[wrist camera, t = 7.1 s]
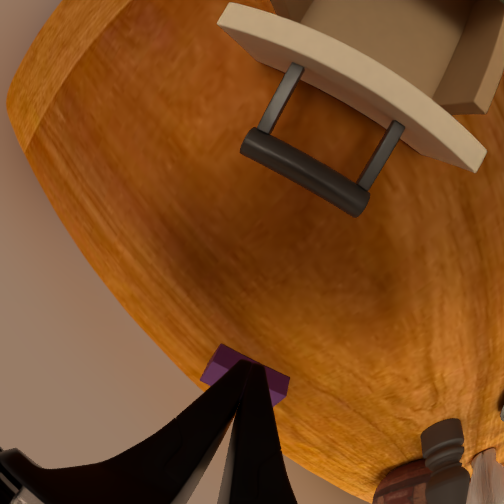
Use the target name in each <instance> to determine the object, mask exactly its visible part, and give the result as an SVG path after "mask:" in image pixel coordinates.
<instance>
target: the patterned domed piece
mask: <svg viewBox="0 0 504 504" xmlns="http://www.w3.org/2000/svg"><path fill="white" fill-rule="evenodd" d="M500 417H501V420H502V421H504V406H503V408H502V411H501V415H500Z"/></svg>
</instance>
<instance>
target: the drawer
mask: <svg viewBox="0 0 504 504" xmlns="http://www.w3.org/2000/svg"><path fill="white" fill-rule="evenodd" d="M270 1H271V3H272V5H273V7H274V10H275V12H276V14H277V15H275V14H272V13H269V12H266V11H262V10H259V9H256V8H252V7H248V6H245V5H241V4H237V3H233V2H230V3H229V4H228V5H227V7H226V9H225V10H224V12H223V14H222V15H221V17H220V19H219V20H218V22H217V25H218V26H219V27H221V28H222V29H223V30H224V31H225V32H226V33H227V34H229V35H230V36H231V37H232V38H233V39H234V40H235V41H236V42H237V43H238V44H240V45H241V46H242V47H243V48H244V49H245V50H246V51H247V52H248V53H249V54H250V55H251V56H252V57H253V58H254V59H255V60H256V61H258V62H261V63H263V64H266V65H268V66H271V67H273V68H275V69H278V70H280V71H282V72H285V75H284V77H283V79H282V81H281V83H280V84H279V86H278V88H277V90H276V92H275V94H274V96H273V98H272V99H271V101H270V103H269V105H268V107H267V109H266V111H265V113H264V115H263V117H262V119H261V121H260V123H259V125H258V126H257V128H256V127H253V128H252V129H251V130H250V131H249V132H248V134H247V135H246V137H245V139H244V141H243V143H242V145H241V148H240V153H241V154H242V155H244V156H246V157H248V158H250V159H252V160H254V161H256V162H258V163H260V164H262V165H264V166H265V167H267V168H269V169H271V170H273V171H275V172H277V173H279V174H280V175H282V176H284V177H286V178H288V179H289V180H291V181H293V182H295V183H297V184H298V185H300V186H302V187H304V188H305V189H307V190H309V191H311V192H312V193H314V194H316V195H317V196H319V197H321V198H323V199H324V200H326V201H328V202H329V203H331V204H333V205H334V206H336V207H337V208H339V209H341V210H342V211H344V212H346V213H347V214H349V215H350V216H352V217H353V218H357V217H358V216H359V215H360V214H361V213H362V212H363V211H364V209H365V208H366V206H367V204H368V202H369V199H370V193H369V192H368V190H369V189H370V187H371V186H372V184H373V183H374V181H375V179H376V178H377V176H378V174H379V173H380V171H381V169H382V168H383V166H384V164H385V163H386V161H387V159H388V158H389V156H390V154H391V153H392V151H393V149H394V147H395V146H396V144H397V142H398V140H399V139H401V140H403V141H404V142H405V143H407V144H408V145H409V146H411V147H412V148H413V149H415V150H416V151H417V152H418V153H420V154H421V155H424V156H428V157H431V158H434V159H437V160H440V161H443V162H446V163H449V164H452V165H455V166H457V167H460V168H463V169H465V170H468V171H471V172H473V173H476V172H477V171H478V169H479V167H480V165H481V163H482V161H483V159H484V157H485V155H486V153H487V150H486V149H485V148H484V147H483V146H482V144H481V143H480V142H479V141H478V140H477V139H476V138H475V137H474V136H473V135H472V134H471V133H470V132H469V131H468V130H466V129H465V128H464V127H463V126H462V125H461V124H460V123H459V122H458V121H457V120H456V119H455V118H453V117H452V116H451V115H459V114H486V113H487V111H488V109H489V107H490V104H491V102H492V99H493V97H494V94H495V92H496V89H497V87H498V84H499V81H500V79H501V76H502V73H503V70H504V4H503V3H502V2H501V1H500V0H270ZM299 80H302V81H304V82H306V83H308V84H310V85H312V86H314V87H316V88H318V89H320V90H322V91H324V92H326V93H328V94H330V95H331V96H333V97H335V98H337V99H339V100H340V101H342V102H344V103H346V104H347V105H349V106H351V107H353V108H354V109H356V110H358V111H359V112H361V113H362V114H364V115H366V116H367V117H369V118H370V119H372V120H374V121H375V122H377V123H378V124H380V125H381V126H383V127H384V128H386V129H387V130H386V132H385V134H384V135H383V137H382V139H381V141H380V142H379V144H378V146H377V147H376V149H375V151H374V153H373V154H372V156H371V158H370V159H369V161H368V163H367V164H366V166H365V168H364V169H363V171H362V173H361V174H360V176H359V178H358V179H357V181H356V183H357V184H356V183H355V182H353V181H351V180H350V179H348V178H347V177H345V176H343V175H342V174H340V173H338V172H337V171H335V170H333V169H332V168H330V167H328V166H327V165H325V164H323V163H322V162H320V161H318V160H316V159H315V158H313V157H311V156H309V155H308V154H306V153H304V152H302V151H300V150H299V149H297V148H295V147H293V146H291V145H289V144H287V143H285V142H284V141H282V140H280V139H278V138H276V137H274V136H272V135H270V134H271V133H272V131H273V129H274V127H275V125H276V123H277V121H278V119H279V117H280V115H281V114H282V112H283V110H284V108H285V106H286V104H287V102H288V100H289V99H290V97H291V95H292V93H293V91H294V89H295V88H296V86H297V84H298V82H299Z"/></svg>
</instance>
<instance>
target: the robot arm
mask: <svg viewBox="0 0 504 504" xmlns="http://www.w3.org/2000/svg"><path fill="white" fill-rule="evenodd" d="M235 413H236V414H235ZM234 416H235V418H234ZM233 418H234V423H233V428H232V433H231V438H230V443H229V448H228V453H227V458H226V463H225V468H224V473H223V478H222V483H221V487H220V492H219V497H218V502H217V504H297V501H296V498H295V496H294V493H293V490H292V488H291V485H290V482H289V479H288V476H287V472H286V468H285V464H284V461H283V455H282V451H281V446H280V441H279V436H278V431H277V426H276V421H275V416H274V411H273V406H272V401H271V396H270V391H269V386H268V380H267V375H266V370H265V366H264V365H261V364H258V363H253V364H252V362H251V361H248V360H245V359H240V360H239V361H238V362H237V363H236V364H235V365H234V366H232V367H231V368H230V369H229V370H228V371H227V372H226V373H225V374H224V375H223V376H222V377H221V378H220V379H218V380H217V381H216V382H215V383H214V384H213V385H212V386H211V387H210V388H209V389H207V390H206V391H205V392H204V393H203V394H202V395H201V396H200V397H199V398H198V399H196V400H195V401H194V402H193V403H192V404H191V405H189V406H188V407H187V408H186V409H185V410H184V411H182V412H181V413H180V414H179V415H178V416H177V417H176V418H174V419H173V420H172V421H170V422H169V423H168V424H167V425H165V426H164V427H163V428H162V429H160V430H159V431H158V432H156V433H155V434H153V435H152V436H150V437H148V438H147V439H145V440H144V441H142V442H140V443H139V444H137V445H135V446H133V447H131V448H130V449H128V450H126V451H124V452H123V453H121V454H119V455H117V456H115V457H113V458H110V459H108V460H105V461H103V462H99V463H95V464H89V465H82V466H75V467H68V468H59V469H44V468H42V467H40V466H39V465H38V464H36V463H35V462H34V461H32V460H31V459H30V458H29V457H27V456H26V455H25V454H24V453H22V452H21V451H20V450H18V449H17V448H13V449H9V450H5V451H4V450H3V449H2V448H1V447H0V504H186V503H187V501H188V500H189V498H190V496H191V495H192V493H193V491H194V490H195V488H196V486H197V485H198V483H199V481H200V479H201V477H202V476H203V474H204V472H205V470H206V469H207V467H208V465H209V463H210V461H211V460H212V458H213V456H214V454H215V453H216V451H217V449H218V447H219V445H220V443H221V441H222V440H223V438H224V436H225V434H226V432H227V430H228V428H229V426H230V424H231V422H232V420H233Z"/></svg>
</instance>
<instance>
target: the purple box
mask: <svg viewBox="0 0 504 504" xmlns="http://www.w3.org/2000/svg"><path fill="white" fill-rule="evenodd" d="M240 359H245V360H248V361H251V362H252V364H253V363H258V362H256V361H254V360H252V359H250V358H248V357H246V356H244V355H242V354H240V353H238V352H236V351H234V350H232V349H230V348H228V347H226V346H225V345H223V344H220V346H219V347H218V349H217V350H216V352H215V353H214V355H213V356H212V358H211V360H210V361H209V363H208V364H207V366H206V368H205V370H204V372H203V374H202V376H201V378H200V381H202V382H204V383H206V384H208V385H210V386H212V385H213V384H214V383H215V382H216V381H217V380H218V379H220V378H221V377H222V376H223V375H224V374H225V373H226V372H227V371H228V370H229V369H230V368H231V367H232V366H234V365H235V364H236V363H237V362H238V361H239V360H240ZM258 364H260V363H258ZM261 365H262V364H261ZM265 370H266V375H267V380H268V386H269V391H270V396H271V401H272V406H273V407H274V406H275V405H276V404H277V403H279V402H280V401H281V400H282V399H284V398H285V397H286V395H287V390H288V385H289V379H290V377H287V376H285V375H283V374H281V373H279V372H277V371H274V370H272V369H270V368H268V367H266V366H265Z"/></svg>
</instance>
